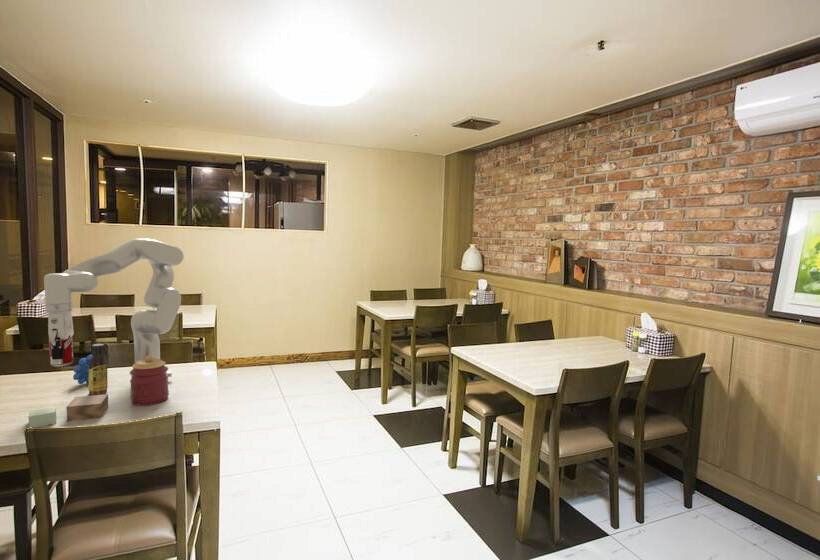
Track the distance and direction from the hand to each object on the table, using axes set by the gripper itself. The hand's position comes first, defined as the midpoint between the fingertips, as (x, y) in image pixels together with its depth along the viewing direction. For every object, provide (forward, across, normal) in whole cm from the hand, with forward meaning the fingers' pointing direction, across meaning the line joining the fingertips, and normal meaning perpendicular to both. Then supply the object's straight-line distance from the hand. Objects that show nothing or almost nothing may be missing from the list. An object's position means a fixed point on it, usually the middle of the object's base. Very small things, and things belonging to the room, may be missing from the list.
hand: (61, 356), depth 165 cm
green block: (+19, -13, +2) cm, 24 cm away
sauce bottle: (+20, +14, -7) cm, 25 cm away
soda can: (+3, 0, 0) cm, 3 cm away
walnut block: (+20, -9, -10) cm, 23 cm away
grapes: (+20, +31, +1) cm, 37 cm away
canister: (+20, +1, -28) cm, 34 cm away
